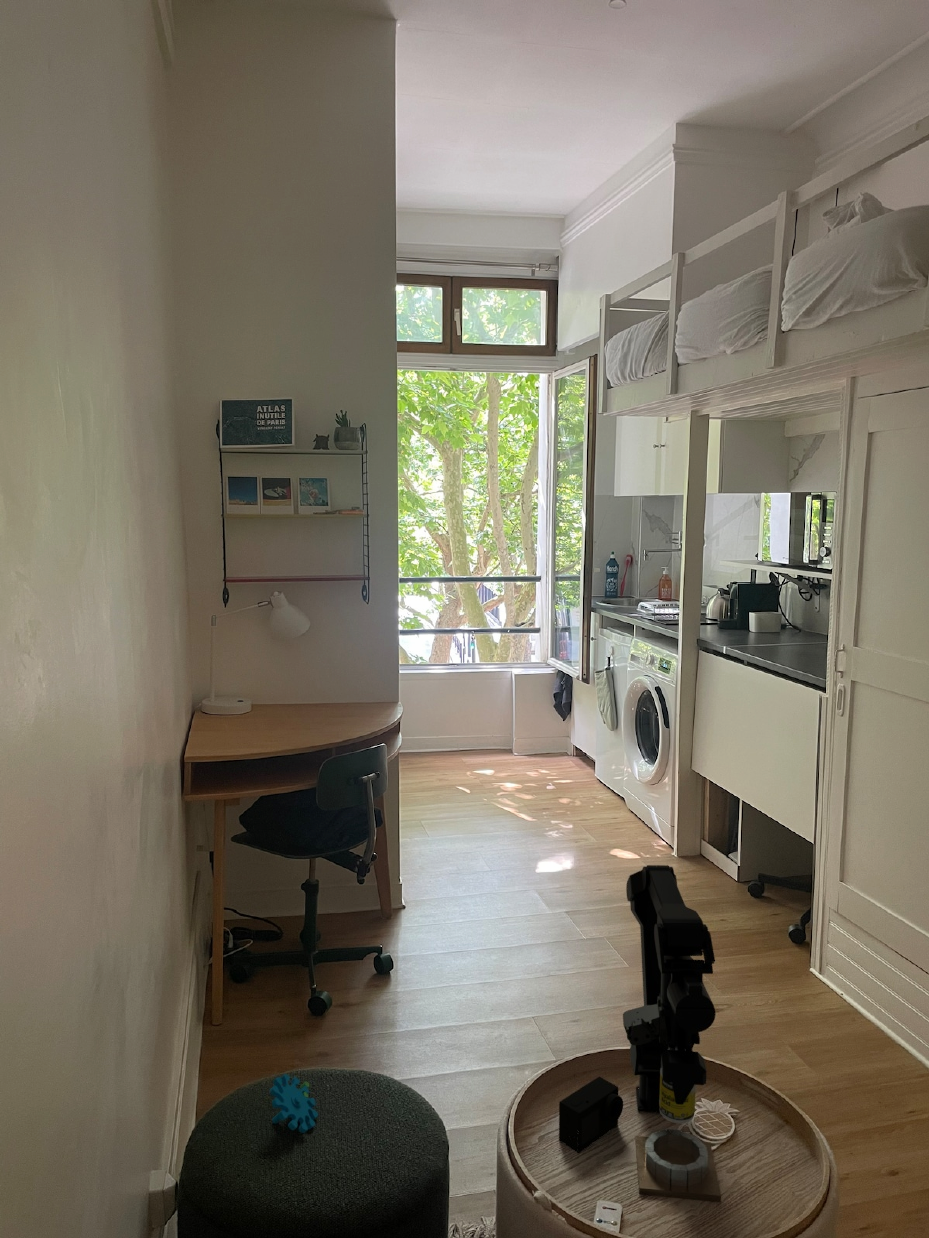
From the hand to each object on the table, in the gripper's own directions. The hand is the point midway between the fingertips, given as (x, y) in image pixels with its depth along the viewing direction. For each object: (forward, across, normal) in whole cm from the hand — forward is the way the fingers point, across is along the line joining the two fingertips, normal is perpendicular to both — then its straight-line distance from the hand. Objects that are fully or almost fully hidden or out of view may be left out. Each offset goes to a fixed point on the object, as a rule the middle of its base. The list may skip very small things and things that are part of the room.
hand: (677, 1092), depth 140 cm
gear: (+13, -3, -63) cm, 64 cm away
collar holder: (+13, 0, 0) cm, 13 cm away
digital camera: (+13, -7, -13) cm, 20 cm away
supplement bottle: (+4, 0, 0) cm, 4 cm away
